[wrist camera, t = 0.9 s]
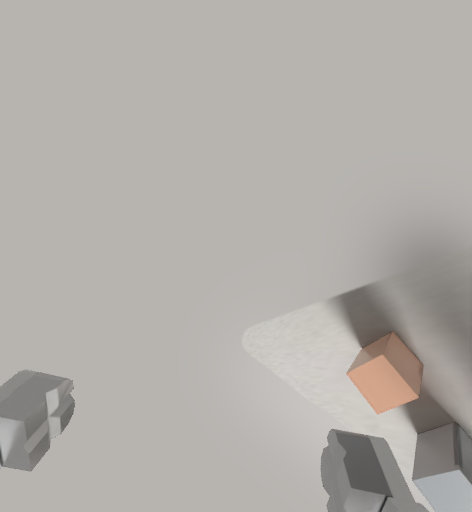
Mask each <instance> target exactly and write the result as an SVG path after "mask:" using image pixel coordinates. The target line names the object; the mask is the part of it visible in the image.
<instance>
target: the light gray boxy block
mask: <svg viewBox="0 0 472 512" xmlns="http://www.w3.org/2000/svg"><path fill="white" fill-rule="evenodd" d="M412 481H413V482H414V484H415V485H416V486H417V488H418V489H419V490H420V492H421V493H422V494H423V496H424V497H425V498H426V500H427V501H428V502H429V504H430V505H431V506H432V508H433V509H434V510H435V512H472V440H471V438H470V437H469V436H468V435H467V434H466V433H465V431H464V430H463V429H462V428H461V427H460V426H459V425H458V423H457V422H454V423H451V424H447V425H444V426H441V427H438V428H435V429H432V430H429V431H426V432H423V433H420V434H418V435H417V443H416V451H415V460H414V468H413V477H412Z"/></svg>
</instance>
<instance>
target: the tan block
mask: <svg viewBox="0 0 472 512" xmlns="http://www.w3.org/2000/svg"><path fill="white" fill-rule="evenodd" d="M422 372H423V364H422V363H421V362H420V361H419V360H418V359H417V358H416V356H415V355H414V354H413V353H412V352H411V351H410V350H409V349H408V347H407V346H406V345H405V344H404V343H403V342H402V341H401V339H400V338H399V337H398V336H397V335H396V334H395V333H394V332H393V331H392V332H390V333H389V334H387V335H385V336H383V337H382V338H380V339H378V340H376V341H375V342H373V343H371V344H369V345H368V346H366V347H364V348H363V349H362V350H361V351H360V353H359V354H358V356H357V357H356V359H355V361H354V362H353V364H352V365H351V367H350V368H349V370H348V372H347V373H346V374H347V375H348V377H349V378H350V379H351V380H352V382H353V383H354V384H355V386H356V387H357V388H358V390H359V391H360V392H361V393H362V395H363V396H364V397H365V399H366V400H367V401H368V403H369V404H370V405H371V406H372V408H373V409H374V410H375V412H376V413H377V414H380V413H383V412H385V411H388V410H390V409H392V408H395V407H397V406H400V405H402V404H405V403H407V402H410V401H412V400H415V399H417V398H419V394H420V387H421V379H422Z"/></svg>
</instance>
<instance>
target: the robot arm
mask: <svg viewBox="0 0 472 512" xmlns="http://www.w3.org/2000/svg"><path fill="white" fill-rule="evenodd" d="M73 389H74V387H73V380H70V379H67V378H63V377H58V376H54V375H49V374H44V373H39V372H35V371H29V370H23V371H20V372H18V373H17V374H16V375H14V376H13V377H12V378H11V379H9V380H8V381H7V382H6V383H4V384H3V385H2V386H1V387H0V469H1V466H4V467H9V468H14V469H20V470H26V471H32V470H33V468H34V467H35V466H36V465H37V463H38V462H39V461H40V460H41V458H42V457H43V456H44V455H45V453H46V452H47V451H48V450H49V448H50V440H51V439H52V438H54V437H56V436H58V435H59V434H61V433H62V432H63V430H64V429H65V428H66V426H67V425H68V423H69V421H70V419H71V417H72V415H73V412H74V407H75V403H74V399H73V397H72V396H71V395H70V392H71V391H72V390H73ZM327 439H328V443H329V446H327V447H326V448H324V449H323V453H322V457H321V477H322V483H323V487H324V489H325V490H326V491H327V493H328V494H329V495H330V497H329V500H328V503H327V509H328V512H429V511H428V510H427V509H426V508H425V507H424V506H423V505H422V504H420V503H416V502H415V500H414V498H413V496H412V494H411V492H410V490H409V487H408V485H407V483H406V481H405V479H404V477H403V475H402V473H401V471H400V468H399V466H398V464H397V462H396V460H395V458H394V456H393V453H392V451H391V449H390V447H389V445H388V443H387V441H386V440H385V439H384V438H379V437H374V436H368V435H364V434H358V433H353V432H347V431H342V430H336V429H331V430H330V431H329V434H328V437H327Z"/></svg>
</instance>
